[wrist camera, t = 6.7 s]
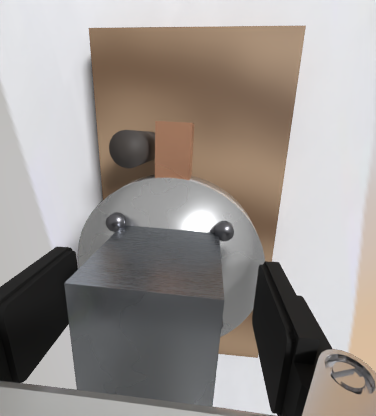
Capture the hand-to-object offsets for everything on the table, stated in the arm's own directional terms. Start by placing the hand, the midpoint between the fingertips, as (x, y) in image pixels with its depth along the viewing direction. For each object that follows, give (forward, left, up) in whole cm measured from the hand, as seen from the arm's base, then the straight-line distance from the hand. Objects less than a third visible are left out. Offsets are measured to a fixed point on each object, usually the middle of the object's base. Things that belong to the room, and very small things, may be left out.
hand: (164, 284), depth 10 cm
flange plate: (+1, 0, -3) cm, 3 cm away
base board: (+1, 0, -7) cm, 7 cm away
